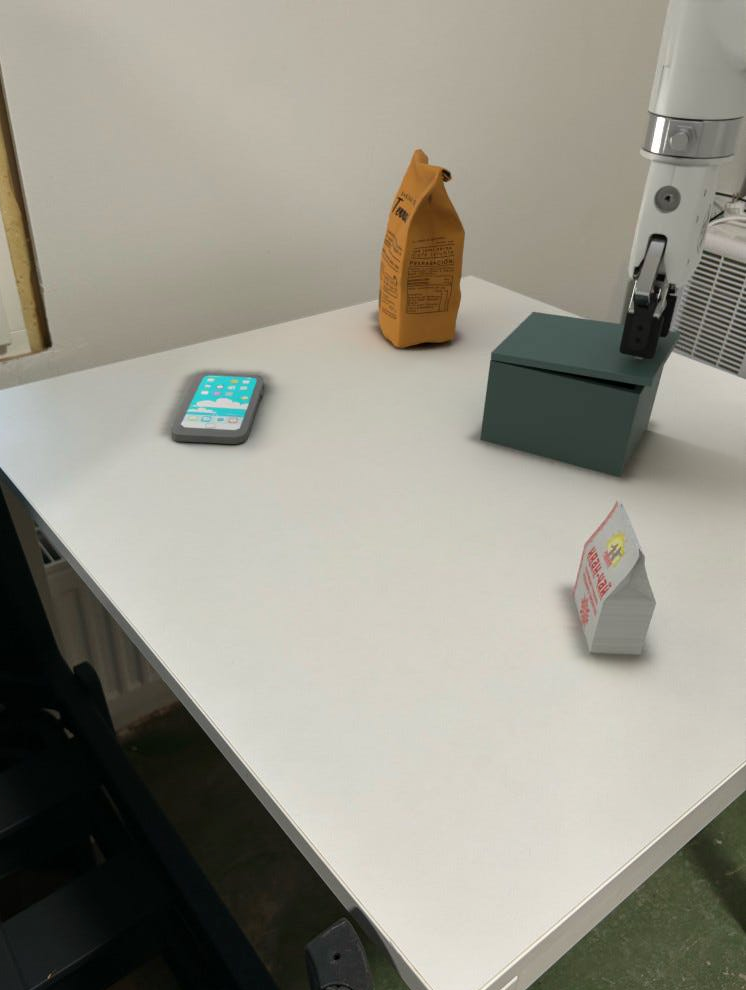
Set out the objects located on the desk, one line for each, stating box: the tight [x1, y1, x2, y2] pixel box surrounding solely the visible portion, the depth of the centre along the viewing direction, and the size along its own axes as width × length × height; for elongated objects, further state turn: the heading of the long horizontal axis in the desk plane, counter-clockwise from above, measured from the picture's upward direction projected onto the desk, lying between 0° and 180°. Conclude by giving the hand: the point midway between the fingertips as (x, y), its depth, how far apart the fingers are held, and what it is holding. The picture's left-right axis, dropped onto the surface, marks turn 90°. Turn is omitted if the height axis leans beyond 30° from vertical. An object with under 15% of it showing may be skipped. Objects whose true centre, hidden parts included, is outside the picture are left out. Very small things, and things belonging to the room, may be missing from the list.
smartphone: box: [170, 372, 265, 445], centre depth 93 cm, size 9×1×15 cm
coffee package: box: [378, 148, 466, 349], centre depth 105 cm, size 10×12×22 cm
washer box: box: [479, 359, 665, 478], centre depth 86 cm, size 15×13×10 cm
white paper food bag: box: [572, 500, 657, 656], centre depth 61 cm, size 4×7×10 cm, turn 178°
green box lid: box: [490, 294, 681, 387], centre depth 81 cm, size 15×13×6 cm
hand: (644, 342), depth 79 cm, fingers closed on green box lid, 5 cm apart
